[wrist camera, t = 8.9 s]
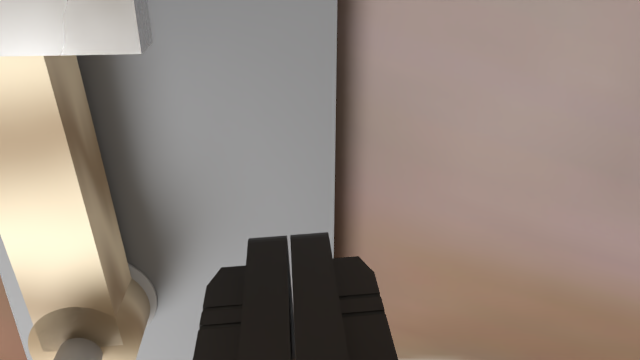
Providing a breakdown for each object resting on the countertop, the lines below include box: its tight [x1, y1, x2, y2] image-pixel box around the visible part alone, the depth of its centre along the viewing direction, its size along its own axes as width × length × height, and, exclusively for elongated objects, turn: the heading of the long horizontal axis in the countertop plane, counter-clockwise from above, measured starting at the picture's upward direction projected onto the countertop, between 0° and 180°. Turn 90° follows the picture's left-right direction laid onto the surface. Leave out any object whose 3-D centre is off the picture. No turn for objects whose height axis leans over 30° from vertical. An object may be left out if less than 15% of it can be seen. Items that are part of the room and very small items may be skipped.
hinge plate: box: [0, 0, 337, 360], centre depth 18 cm, size 24×14×7 cm, turn 0°
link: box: [0, 55, 150, 360], centre depth 18 cm, size 18×4×2 cm, turn 3°
